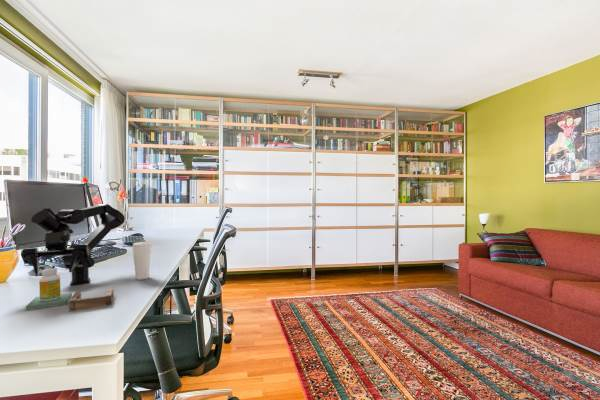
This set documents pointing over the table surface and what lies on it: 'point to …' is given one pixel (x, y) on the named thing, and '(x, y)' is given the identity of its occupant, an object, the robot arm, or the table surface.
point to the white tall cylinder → (142, 259)
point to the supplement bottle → (49, 285)
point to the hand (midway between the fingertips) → (53, 273)
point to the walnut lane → (90, 301)
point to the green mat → (49, 302)
